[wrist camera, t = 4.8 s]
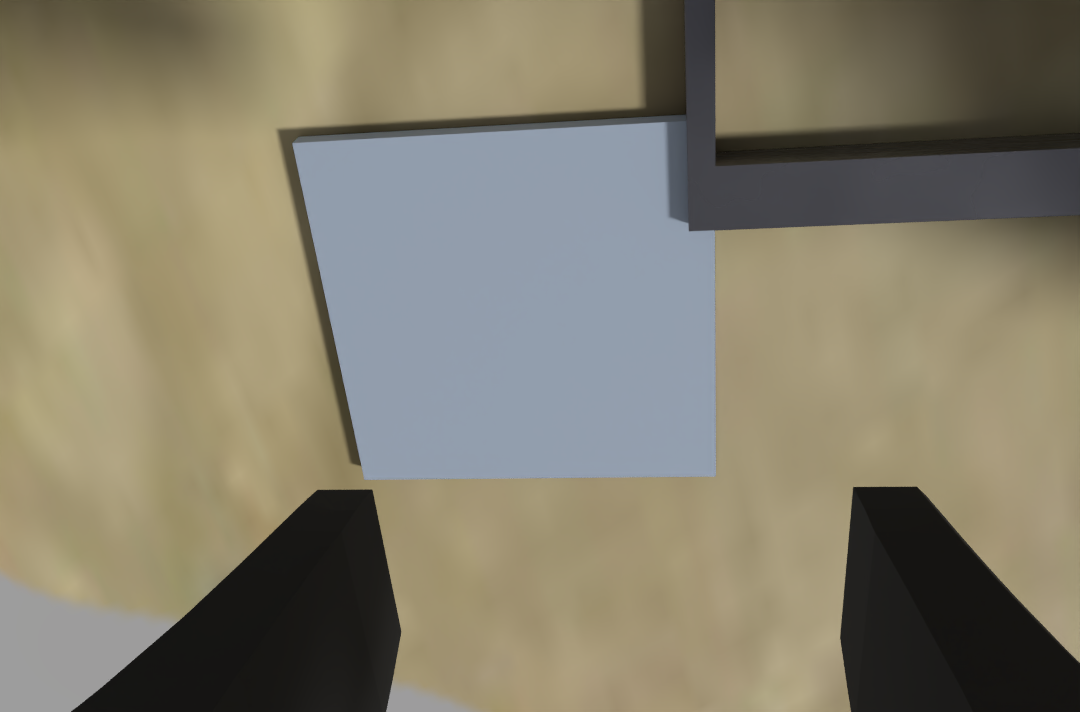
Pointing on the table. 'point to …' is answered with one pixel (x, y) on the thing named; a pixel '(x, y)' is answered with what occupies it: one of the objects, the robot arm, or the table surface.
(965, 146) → the rectangular frame
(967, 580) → the robot arm
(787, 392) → the table surface
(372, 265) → the mat
